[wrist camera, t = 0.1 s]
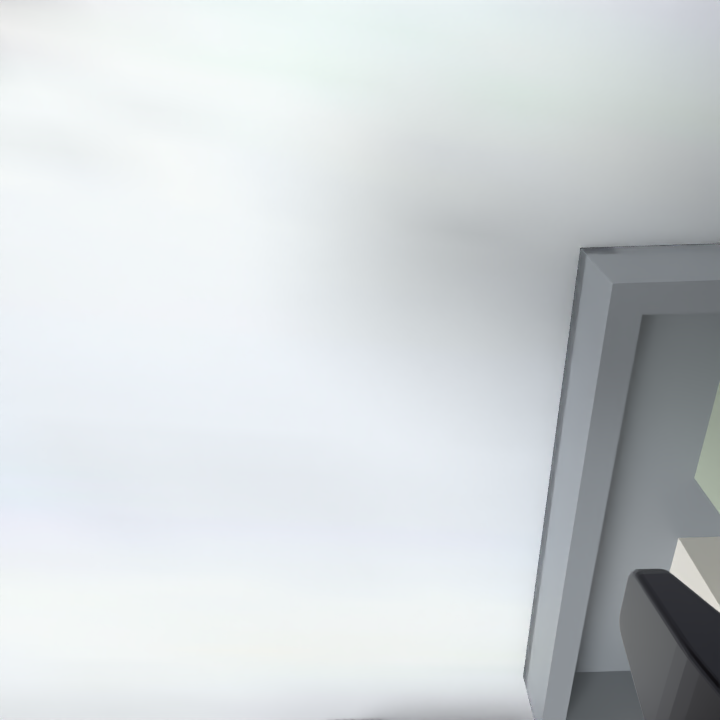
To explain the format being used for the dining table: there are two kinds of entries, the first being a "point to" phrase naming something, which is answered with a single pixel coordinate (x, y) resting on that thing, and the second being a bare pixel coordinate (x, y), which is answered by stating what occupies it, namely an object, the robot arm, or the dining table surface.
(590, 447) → the parts bin
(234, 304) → the dining table surface
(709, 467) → the plain box
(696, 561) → the labelled box
